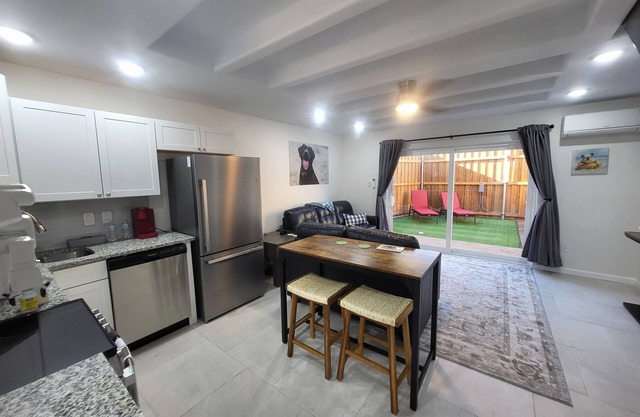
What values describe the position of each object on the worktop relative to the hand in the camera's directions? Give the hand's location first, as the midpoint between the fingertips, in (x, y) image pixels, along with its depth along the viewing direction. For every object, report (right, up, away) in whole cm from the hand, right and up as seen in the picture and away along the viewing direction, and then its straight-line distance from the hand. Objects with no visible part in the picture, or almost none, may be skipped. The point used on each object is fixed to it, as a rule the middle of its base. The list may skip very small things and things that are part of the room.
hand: (28, 301), depth 118 cm
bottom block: (-5, -4, +8) cm, 10 cm away
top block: (-5, +1, +7) cm, 9 cm away
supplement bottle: (0, -5, +1) cm, 5 cm away
